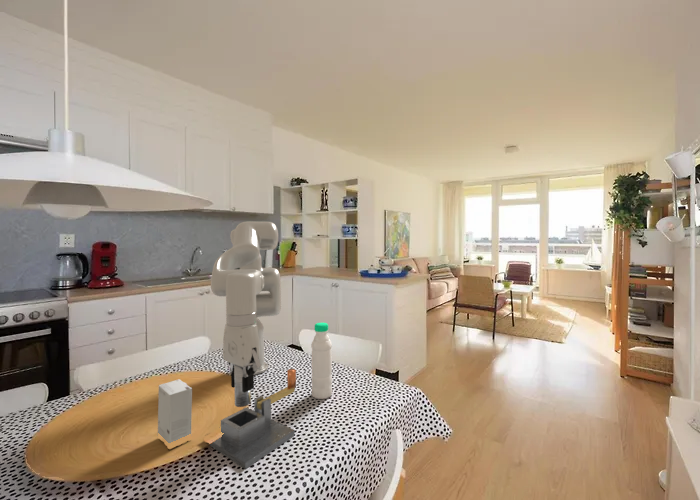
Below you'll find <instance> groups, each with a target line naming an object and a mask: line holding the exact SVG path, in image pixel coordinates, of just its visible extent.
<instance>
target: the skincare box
mask: <svg viewBox="0 0 700 500" xmlns="http://www.w3.org/2000/svg"><path fill="white" fill-rule="evenodd" d="M157 404H158V408H157V409H158V410H157V434H158V433H159V434H160V435H161V436H162V437H163V438H164V439H165V440H166V441H167V442H168V443H171V442H173V441H176V440H178V439H180V438H182V437H185V436H187V435H189V434H191V435H192V414H193V413H192V411H193V410H192V409H193V408H192V406H193V405H192V404H193V388H192V387H190V386H189V385H188V384H187V382H184V381H182V380H181V379H180V378H178V379H175V380H172V381H168V382H166V383H165V382H163V383H162V384H159V385H158V403H157Z"/></svg>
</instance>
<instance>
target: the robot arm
mask: <svg viewBox="0 0 700 500" xmlns="http://www.w3.org/2000/svg"><path fill="white" fill-rule="evenodd" d="M230 242H231V244H232V247H230V248H229V249H228V250H226V251H224V252H223V253H222V254H220V255H219V256H218V257H217V259H216V260H215V262H214V264H213V267H212V270H211V271H212V272H211V276H210V289H211V292H212V294H214V295H215V296H217V297H225V312H226V313H225V317H226V321H225V322H226V323H225V326H224V331H223V341H222V342H223V344H222V358H223V361H225V362H227V363H228V365H229V372H230V381H231V382H230V386H231V388H234V389H235V386H234V365H233V364H235V365H237V366H240V367H243V373H244V377H242V391H243V392H244V393H245V392H247V391H249V390H253V389H254V388H255V382H254V381H255V379H254V378H255V375H256V376H257V375H260V374H263V373H265V372H266V371H268V369H269V364H268V363H267V362H265V330H264V324H263V323H262V321H261V320H259V318H261V317H272V316H273V317H275V316H278V315H279V314H280V313H281V309H282V286H281V283H282V282H281V274H280V272H279V269H277V268H275V267H263V266H262V263H263V262H262V255H261V252H260V251H270V250H272V251H273V250H275V249H276V248H277V247H278V243H279V230H278V227H277V225H276V224H275V223H274V222H272V221H242V222H240V223H238V224H237V226H236V227H235V228H234V229H232V230H231V231H230ZM261 292H268V293H261ZM250 361H251V362H250ZM248 366H250V368H249V369H247V367H248Z"/></svg>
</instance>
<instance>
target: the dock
mask: <svg viewBox="0 0 700 500" xmlns="http://www.w3.org/2000/svg"><path fill="white" fill-rule="evenodd" d="M263 399H264V395H258V396H257V397H255V398H254V401H253V403H254V408H253V409H254V410H253V409H251V408H248V407H247V406H245V407H244V408H243V409H240V410H238V411H236V412H234V413H232V414H231V415H228V416H227V417H225V418H222V419H221V420H220V427H221V432H222V433H224V434H223V435H222V437H221V438H219V439H218V440H216V441H215V442H213V443H212V444H210V445H209V447H211V448H213V450H216V451H218V453H220V454H222V455H223V456H225V457H226V458H228V459H229V460H231V461H232V462H234V463H235V464H237V465H239V467H241V468H243V469H244V470H246V469H248V468H249V467H251V466H252V465H254V464H255V463H257V462H258V461H259V460H261V459H262V458H264V457H265V456H267V455H268V454H270V453H271V452H272V451H274V450H276V449H277V448H279V447H280V446H281V445H283V444H284V443H286V442H287V441H289V440H290V439H291V438H293V437H294V436H295V429H293V428H291V427H289V426H287V425H285V424H282V422H279V421H277V420H274V419H272V404H271V399H267V400H265V401H263V402H262V409H261V410H260V409H258V408H257V402H259V401H261V400H263Z"/></svg>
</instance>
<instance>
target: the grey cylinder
mask: <svg viewBox="0 0 700 500" xmlns="http://www.w3.org/2000/svg"><path fill="white" fill-rule="evenodd" d="M250 362H251V361H250ZM233 365H234V386H235V387H234V406H235V407H238V408H243V407H244V408H245V407H247V406H249V405H250V404H251V402H252V401H251V400H252V399H251V397H252V396H251V390H252V389H251V390H249V391H247V392H245V393H244V392H243V391H242V377H244V373H243V367H240V366H237V365H235V364H233ZM249 368H250V366H248V367H247V369H249Z"/></svg>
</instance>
